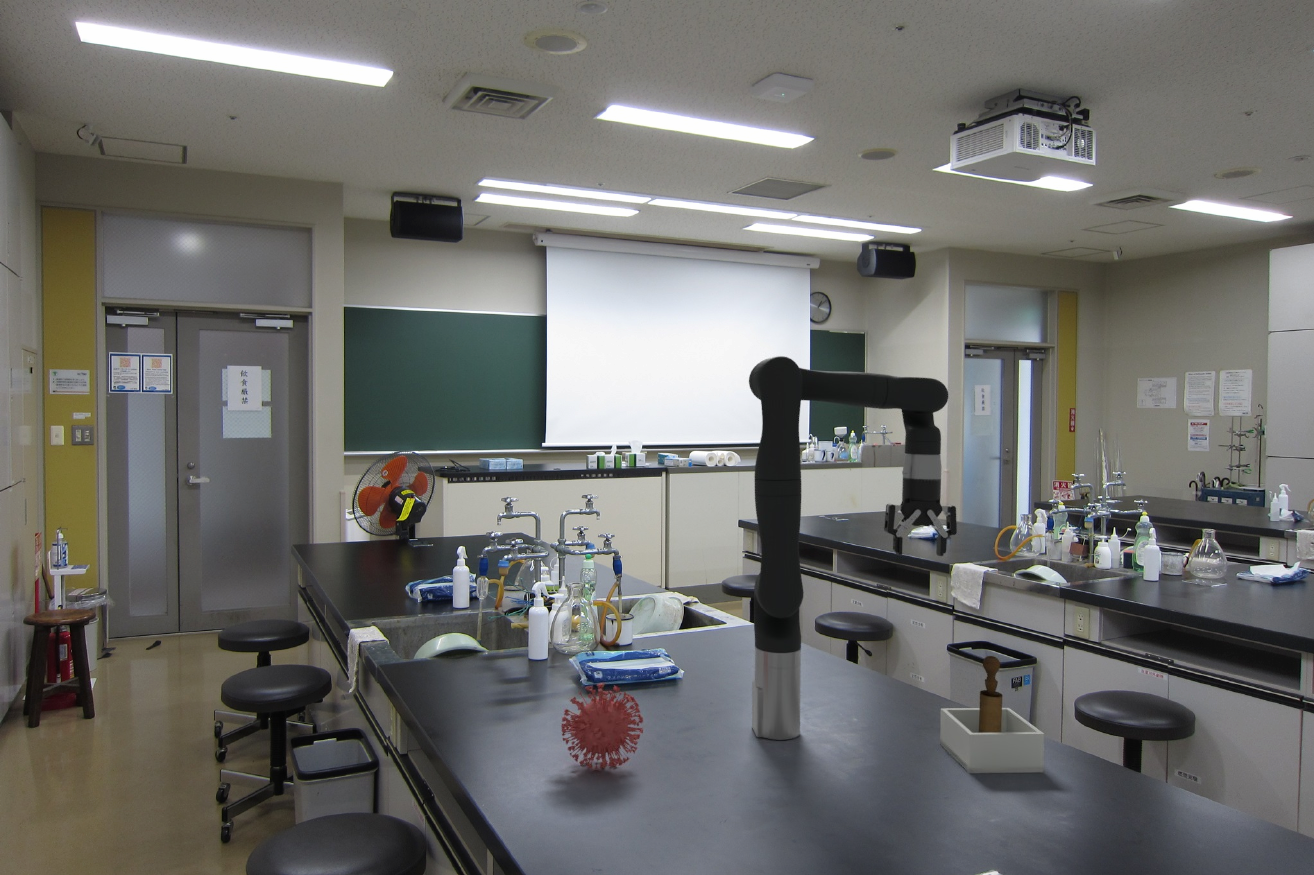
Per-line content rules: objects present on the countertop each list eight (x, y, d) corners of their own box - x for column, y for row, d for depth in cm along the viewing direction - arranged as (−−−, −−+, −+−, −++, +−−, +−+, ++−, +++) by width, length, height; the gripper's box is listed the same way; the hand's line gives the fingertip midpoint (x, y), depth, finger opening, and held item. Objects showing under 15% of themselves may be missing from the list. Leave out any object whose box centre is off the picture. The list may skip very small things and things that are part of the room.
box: (969, 773, 152) (969, 734, 152) (940, 744, 166) (940, 708, 166) (1043, 772, 153) (1044, 733, 153) (1008, 743, 166) (1008, 708, 166)
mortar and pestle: (1011, 760, 155) (1013, 663, 155) (974, 757, 157) (976, 660, 156) (1004, 747, 162) (1006, 653, 162) (968, 744, 163) (970, 650, 163)
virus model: (653, 757, 158) (654, 677, 158) (624, 790, 144) (625, 703, 144) (581, 746, 163) (581, 669, 163) (546, 777, 149) (546, 693, 149)
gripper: (893, 476, 170) (890, 557, 171) (963, 478, 171) (960, 558, 171) (881, 474, 178) (879, 551, 178) (949, 475, 178) (946, 552, 179)
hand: (919, 555), depth 175 cm, fingers open, 8 cm apart
